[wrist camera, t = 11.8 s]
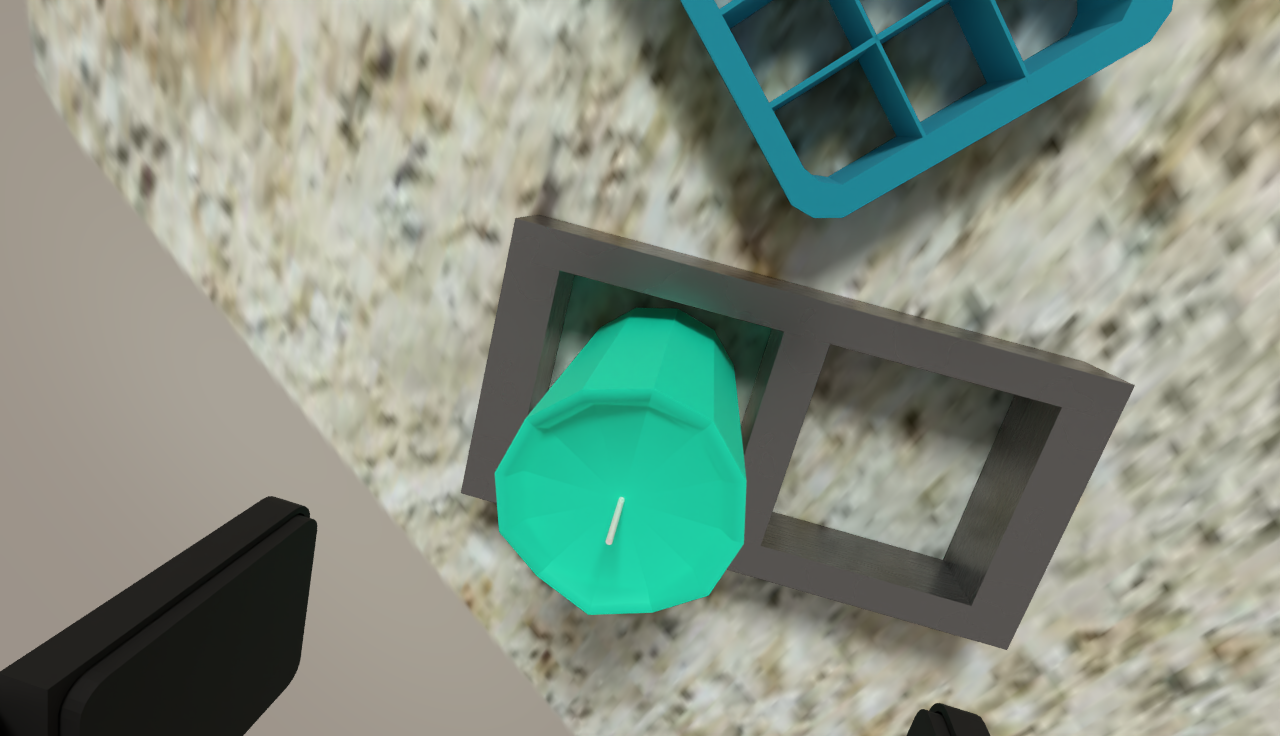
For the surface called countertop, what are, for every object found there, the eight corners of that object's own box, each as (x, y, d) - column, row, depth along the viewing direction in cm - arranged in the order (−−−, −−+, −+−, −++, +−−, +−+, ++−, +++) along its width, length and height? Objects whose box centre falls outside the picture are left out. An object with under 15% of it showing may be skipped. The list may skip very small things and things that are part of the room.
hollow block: (1084, 361, 24) (1134, 385, 21) (975, 599, 27) (1007, 650, 24) (539, 214, 25) (515, 217, 22) (487, 460, 27) (460, 493, 24)
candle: (559, 326, 26) (432, 439, 14) (715, 287, 25) (716, 376, 13) (602, 470, 27) (517, 682, 15) (751, 439, 26) (781, 641, 14)
